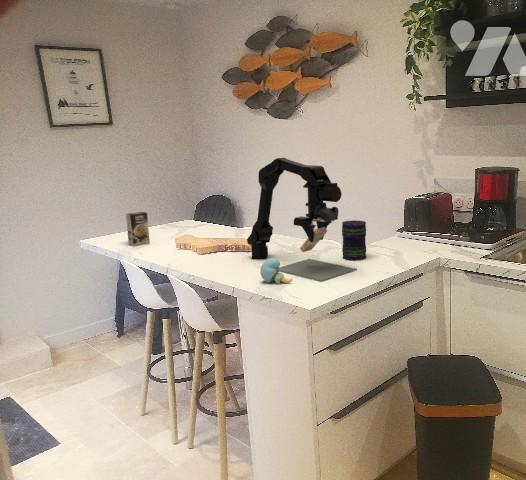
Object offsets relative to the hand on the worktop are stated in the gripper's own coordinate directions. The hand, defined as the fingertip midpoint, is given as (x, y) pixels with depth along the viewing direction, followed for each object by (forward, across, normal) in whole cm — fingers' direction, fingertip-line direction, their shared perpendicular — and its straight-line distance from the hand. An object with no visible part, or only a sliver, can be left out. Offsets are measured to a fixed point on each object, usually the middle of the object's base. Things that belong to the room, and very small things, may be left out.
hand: (316, 241), depth 193 cm
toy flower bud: (+12, -20, +1) cm, 24 cm away
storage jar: (+12, +24, +1) cm, 27 cm away
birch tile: (+4, 0, +6) cm, 7 cm away
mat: (+12, 0, +1) cm, 12 cm away
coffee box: (+12, -20, +105) cm, 107 cm away
